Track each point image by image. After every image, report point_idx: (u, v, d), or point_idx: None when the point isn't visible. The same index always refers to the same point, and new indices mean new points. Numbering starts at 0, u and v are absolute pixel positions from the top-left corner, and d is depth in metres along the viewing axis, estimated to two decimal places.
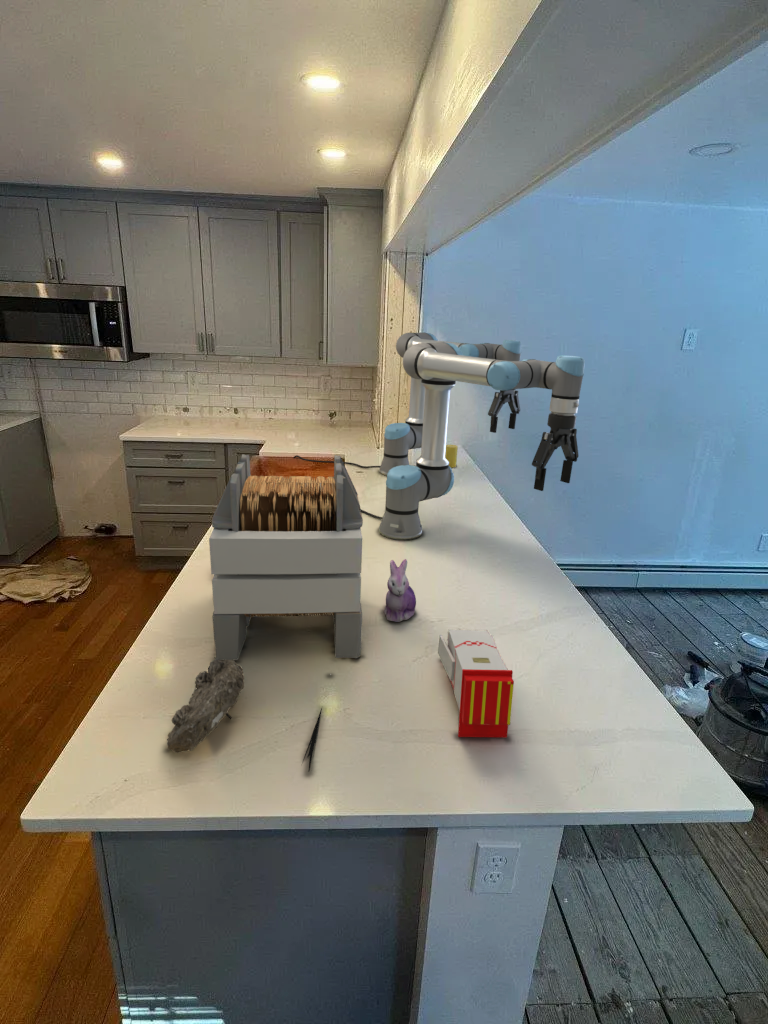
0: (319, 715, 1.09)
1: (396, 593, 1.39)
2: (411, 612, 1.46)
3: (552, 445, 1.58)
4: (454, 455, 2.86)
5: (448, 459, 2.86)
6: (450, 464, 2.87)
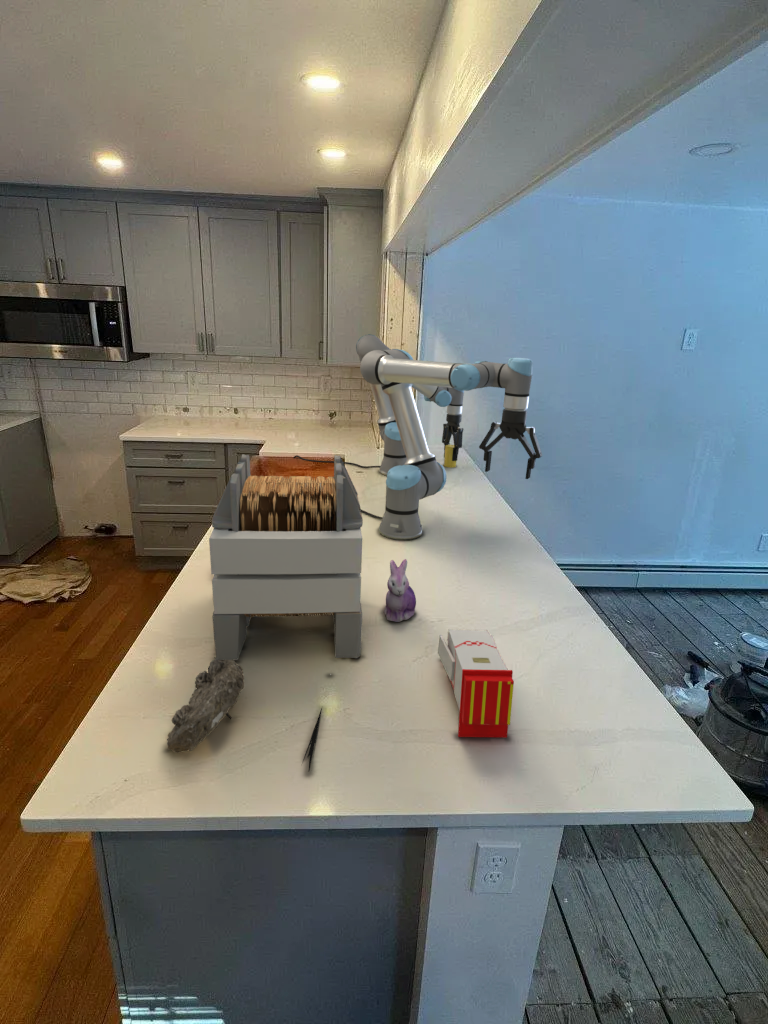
0: (319, 715, 1.09)
1: (396, 593, 1.39)
2: (411, 612, 1.46)
3: (524, 437, 1.79)
4: None
5: (448, 459, 2.86)
6: (450, 464, 2.87)
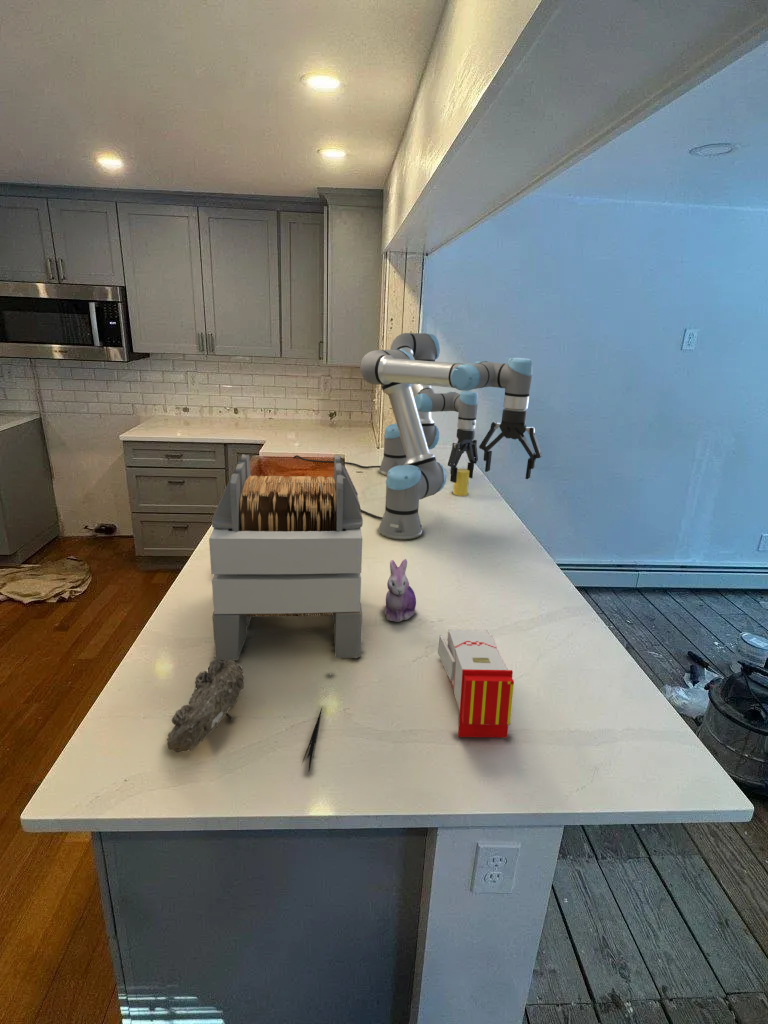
0: (319, 715, 1.09)
1: (396, 593, 1.39)
2: (411, 612, 1.46)
3: (524, 437, 1.79)
4: (456, 481, 2.43)
5: None
6: (453, 490, 2.46)
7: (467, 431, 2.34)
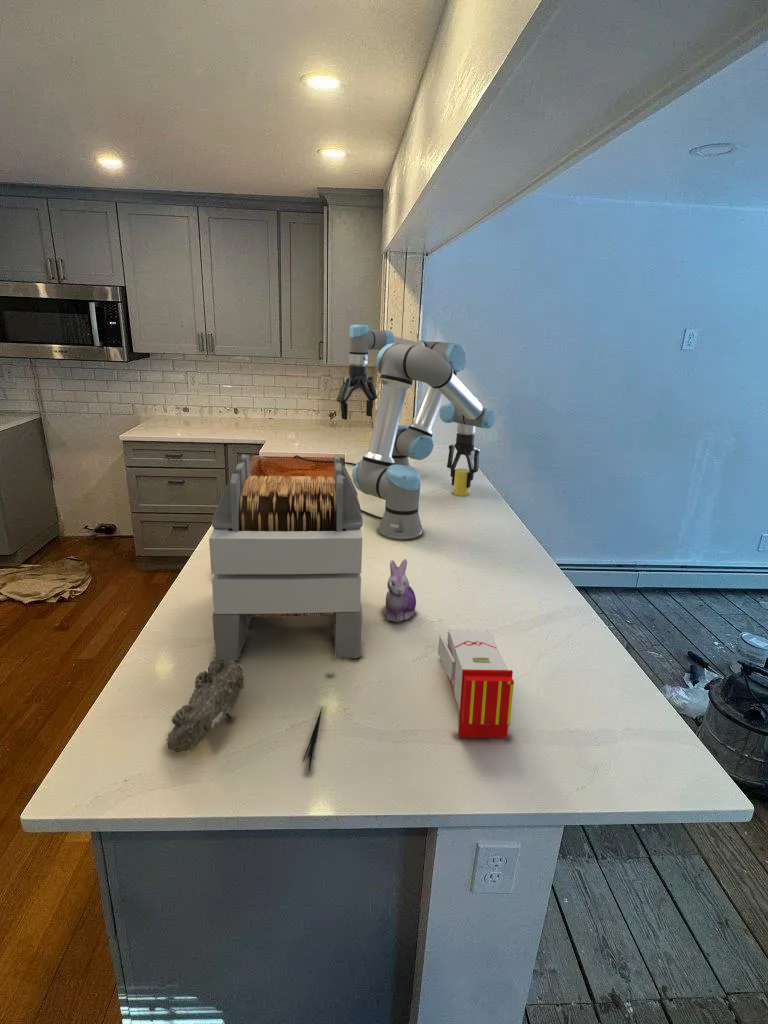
0: (319, 715, 1.09)
1: (396, 593, 1.39)
2: (411, 612, 1.46)
3: (470, 455, 2.40)
4: (456, 481, 2.43)
5: None
6: (453, 490, 2.46)
7: (358, 366, 2.25)
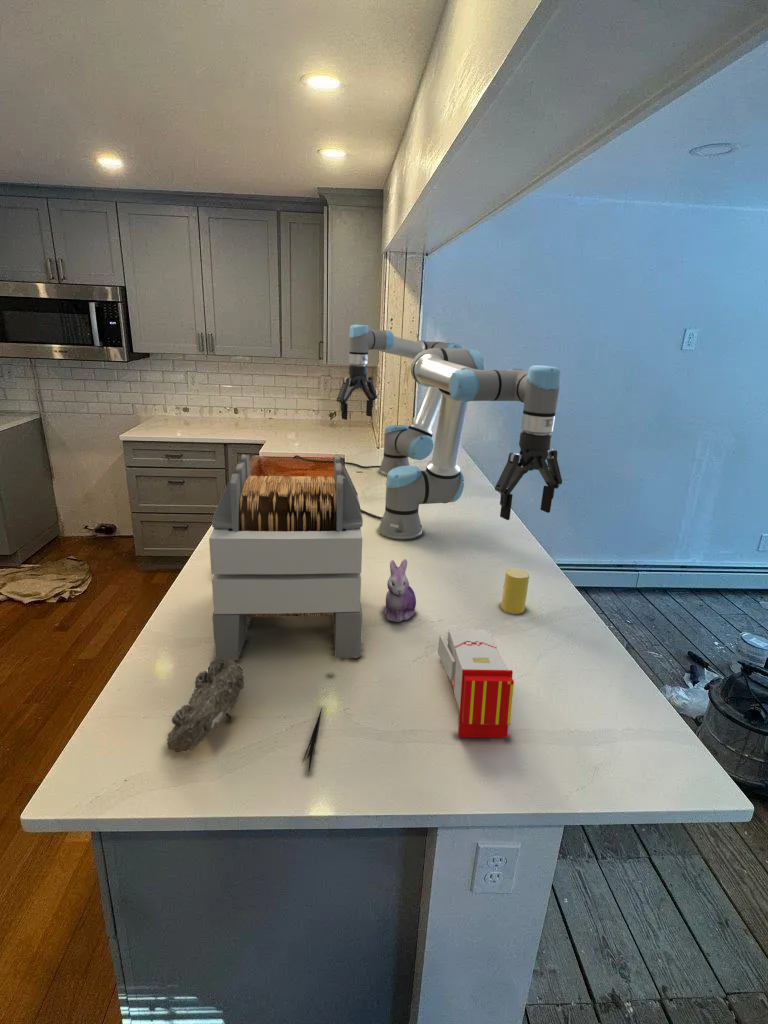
0: (319, 715, 1.09)
1: (396, 593, 1.39)
2: (411, 612, 1.46)
3: (521, 468, 1.37)
4: None
5: None
6: None
7: (358, 366, 2.25)
